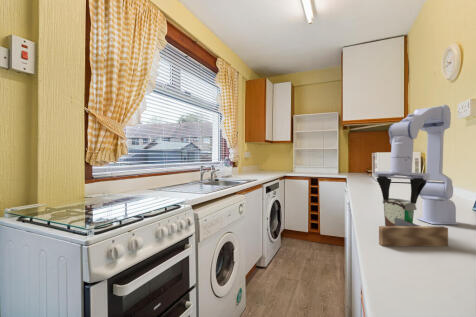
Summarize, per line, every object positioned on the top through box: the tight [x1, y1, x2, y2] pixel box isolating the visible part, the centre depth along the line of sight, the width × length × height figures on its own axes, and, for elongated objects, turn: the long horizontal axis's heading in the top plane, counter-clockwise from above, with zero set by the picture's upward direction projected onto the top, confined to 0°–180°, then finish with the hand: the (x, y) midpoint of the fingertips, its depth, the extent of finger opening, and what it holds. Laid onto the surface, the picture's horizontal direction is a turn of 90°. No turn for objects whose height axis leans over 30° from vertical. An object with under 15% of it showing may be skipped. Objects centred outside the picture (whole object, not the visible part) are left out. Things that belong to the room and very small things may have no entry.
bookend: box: [395, 218, 420, 226], centre depth 70 cm, size 6×10×5 cm, turn 0°
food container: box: [382, 197, 417, 226], centre depth 78 cm, size 12×6×10 cm, turn 179°
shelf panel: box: [378, 225, 449, 247], centre depth 64 cm, size 18×2×5 cm, turn 90°
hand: (398, 201), depth 73 cm, fingers open, 7 cm apart
